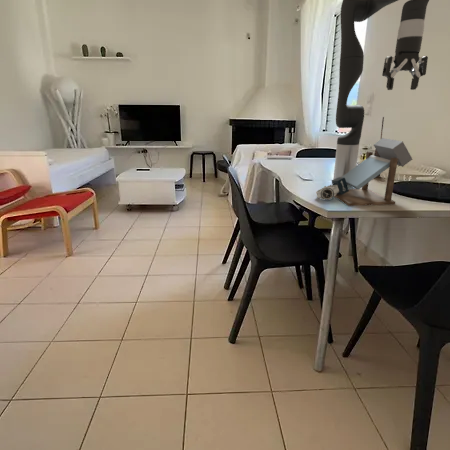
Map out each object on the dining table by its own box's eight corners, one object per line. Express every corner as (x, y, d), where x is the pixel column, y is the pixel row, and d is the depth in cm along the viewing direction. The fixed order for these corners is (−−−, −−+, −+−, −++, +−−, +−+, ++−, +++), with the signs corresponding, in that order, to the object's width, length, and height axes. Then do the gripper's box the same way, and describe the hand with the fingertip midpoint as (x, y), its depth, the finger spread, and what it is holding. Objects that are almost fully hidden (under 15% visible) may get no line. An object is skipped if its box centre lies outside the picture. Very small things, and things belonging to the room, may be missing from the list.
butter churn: (387, 178, 157) (397, 117, 147) (365, 177, 160) (374, 117, 150) (385, 175, 165) (394, 116, 155) (364, 174, 168) (372, 116, 158)
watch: (351, 191, 121) (325, 203, 120) (340, 190, 129) (315, 201, 128) (347, 177, 120) (321, 189, 118) (336, 176, 127) (311, 188, 126)
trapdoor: (390, 154, 127) (381, 138, 125) (413, 159, 114) (403, 141, 112) (345, 187, 130) (335, 172, 128) (362, 196, 117) (351, 179, 115)
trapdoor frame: (367, 190, 135) (372, 151, 129) (394, 204, 116) (402, 158, 111) (326, 192, 134) (330, 152, 128) (348, 205, 115) (354, 159, 109)
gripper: (422, 39, 113) (414, 90, 119) (383, 39, 112) (376, 90, 118) (437, 35, 106) (427, 89, 112) (395, 34, 105) (387, 89, 111)
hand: (401, 89), depth 115 cm, fingers open, 8 cm apart
